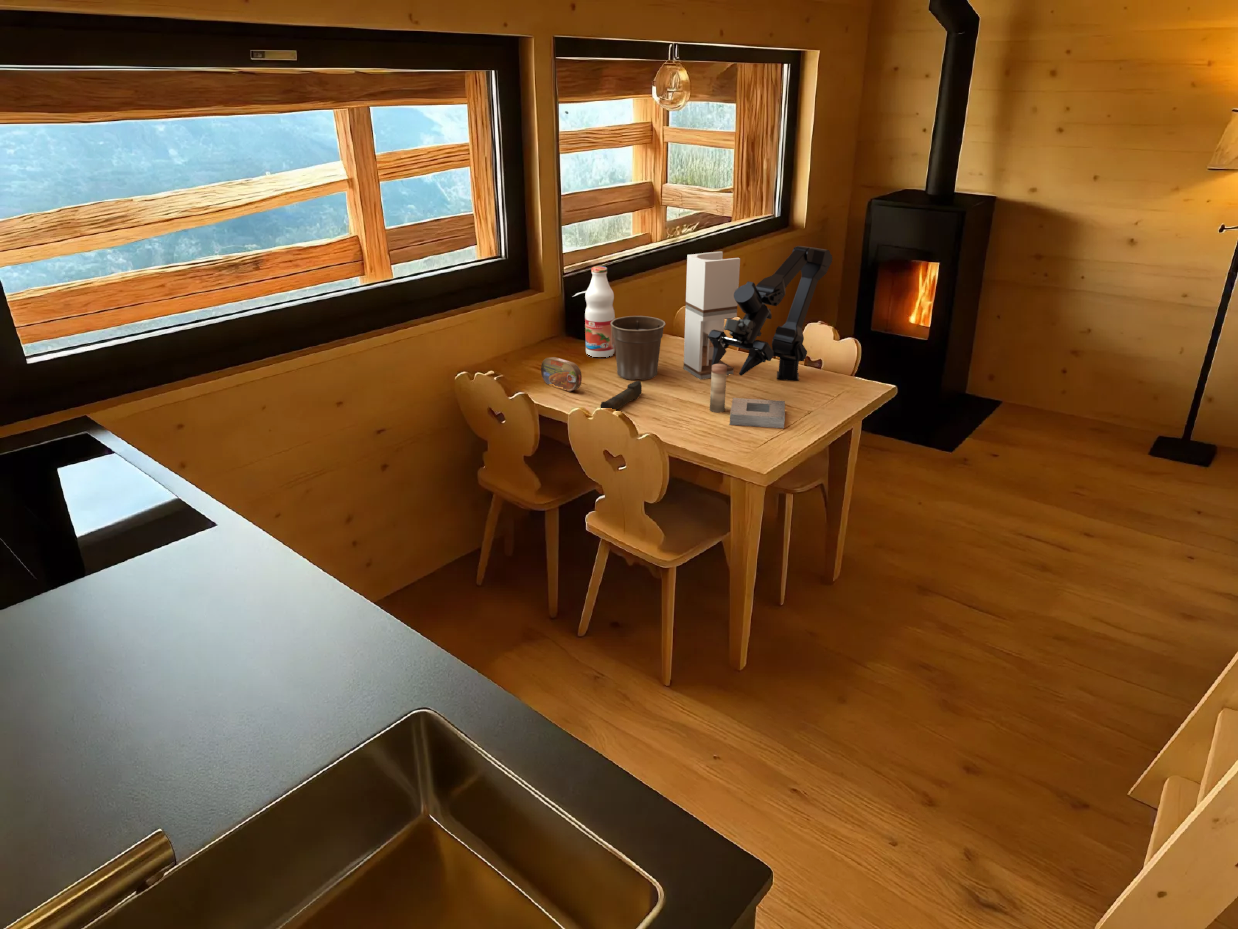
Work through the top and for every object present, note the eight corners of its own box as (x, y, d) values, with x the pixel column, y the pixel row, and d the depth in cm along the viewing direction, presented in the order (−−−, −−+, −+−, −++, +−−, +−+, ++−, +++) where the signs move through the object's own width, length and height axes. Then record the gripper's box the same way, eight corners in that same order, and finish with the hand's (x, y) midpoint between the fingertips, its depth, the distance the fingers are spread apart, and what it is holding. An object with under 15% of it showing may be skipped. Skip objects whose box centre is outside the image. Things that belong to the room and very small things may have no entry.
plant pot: (630, 362, 267) (630, 312, 260) (674, 371, 259) (675, 320, 252) (600, 376, 255) (599, 324, 248) (645, 387, 247) (645, 333, 240)
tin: (540, 382, 250) (539, 355, 247) (548, 379, 252) (547, 352, 249) (576, 394, 241) (575, 366, 237) (583, 392, 243) (583, 364, 240)
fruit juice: (620, 353, 275) (620, 267, 263) (602, 360, 268) (601, 272, 256) (598, 347, 280) (597, 263, 268) (579, 354, 274) (577, 268, 262)
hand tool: (612, 417, 226) (612, 401, 224) (599, 414, 228) (599, 398, 226) (649, 396, 241) (649, 380, 239) (637, 393, 243) (637, 378, 241)
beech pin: (710, 406, 233) (712, 363, 227) (724, 407, 232) (727, 364, 227) (709, 412, 229) (711, 368, 224) (723, 412, 228) (726, 369, 223)
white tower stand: (700, 379, 252) (705, 261, 237) (683, 368, 261) (687, 254, 246) (733, 374, 257) (740, 258, 241) (715, 363, 265) (721, 251, 250)
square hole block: (732, 407, 232) (732, 397, 230) (783, 411, 229) (784, 401, 228) (729, 424, 221) (730, 414, 220) (783, 428, 219) (784, 417, 217)
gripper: (713, 300, 230) (686, 348, 228) (771, 312, 219) (743, 363, 216) (728, 322, 239) (703, 369, 236) (785, 335, 228) (758, 384, 225)
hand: (726, 371), depth 228 cm, fingers open, 9 cm apart
